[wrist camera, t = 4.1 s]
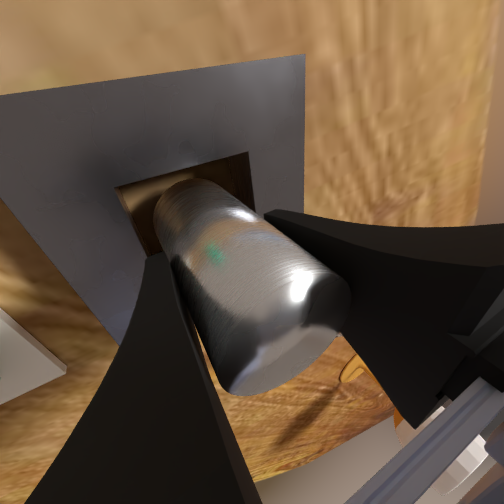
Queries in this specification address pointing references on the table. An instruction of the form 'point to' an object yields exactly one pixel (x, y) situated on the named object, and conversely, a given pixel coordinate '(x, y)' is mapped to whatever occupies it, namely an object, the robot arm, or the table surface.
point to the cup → (406, 433)
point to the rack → (23, 361)
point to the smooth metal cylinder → (247, 287)
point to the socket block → (144, 161)
